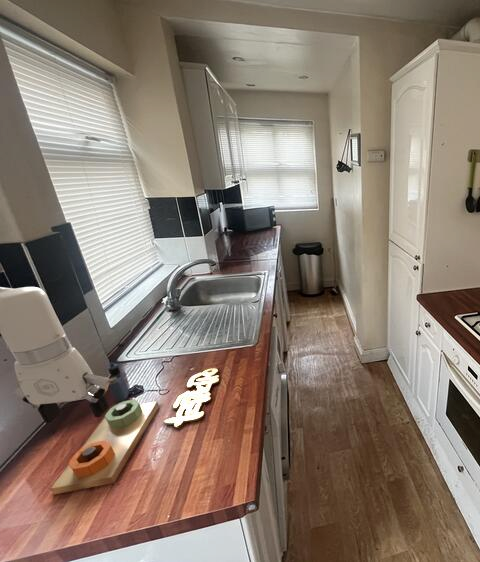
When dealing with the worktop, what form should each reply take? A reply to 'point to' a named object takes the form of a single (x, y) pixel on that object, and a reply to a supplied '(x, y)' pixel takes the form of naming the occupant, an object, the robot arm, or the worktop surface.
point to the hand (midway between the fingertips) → (78, 415)
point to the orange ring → (94, 465)
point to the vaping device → (117, 383)
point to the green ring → (124, 419)
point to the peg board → (121, 444)
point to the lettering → (194, 398)
